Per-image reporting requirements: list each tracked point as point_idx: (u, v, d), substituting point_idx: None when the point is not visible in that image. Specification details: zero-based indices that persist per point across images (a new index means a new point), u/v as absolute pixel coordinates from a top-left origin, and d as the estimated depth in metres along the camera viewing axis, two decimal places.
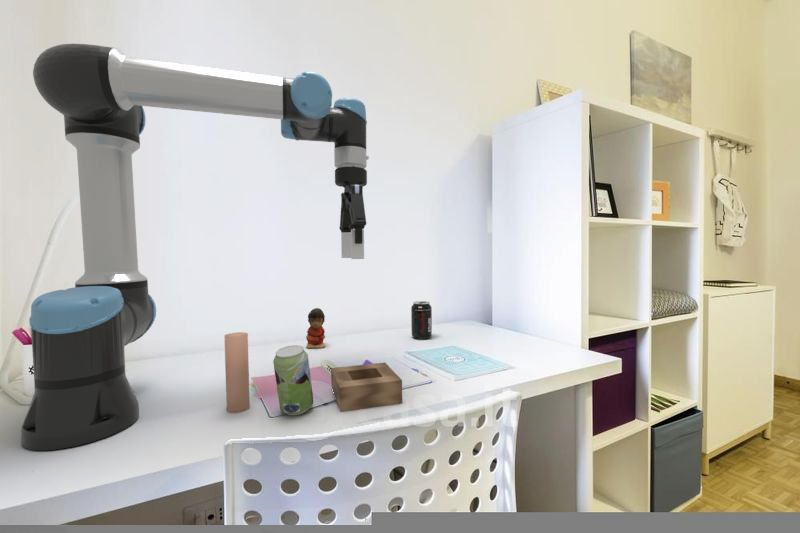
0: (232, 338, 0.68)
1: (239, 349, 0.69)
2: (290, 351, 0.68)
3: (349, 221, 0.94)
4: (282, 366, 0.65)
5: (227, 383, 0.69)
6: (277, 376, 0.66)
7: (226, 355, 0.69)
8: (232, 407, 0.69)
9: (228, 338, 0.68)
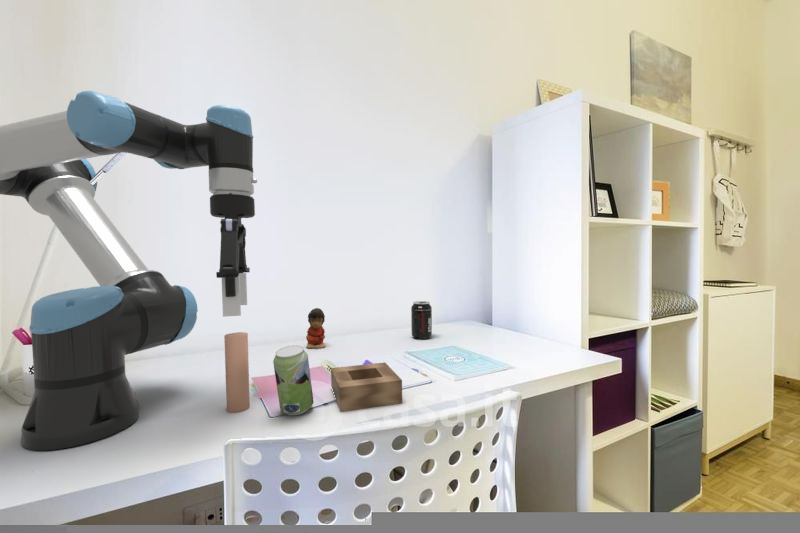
0: (232, 338, 0.68)
1: (239, 349, 0.69)
2: (290, 351, 0.68)
3: (240, 260, 0.75)
4: (282, 366, 0.65)
5: (227, 383, 0.69)
6: (277, 376, 0.66)
7: (226, 355, 0.69)
8: (232, 407, 0.69)
9: (228, 338, 0.68)
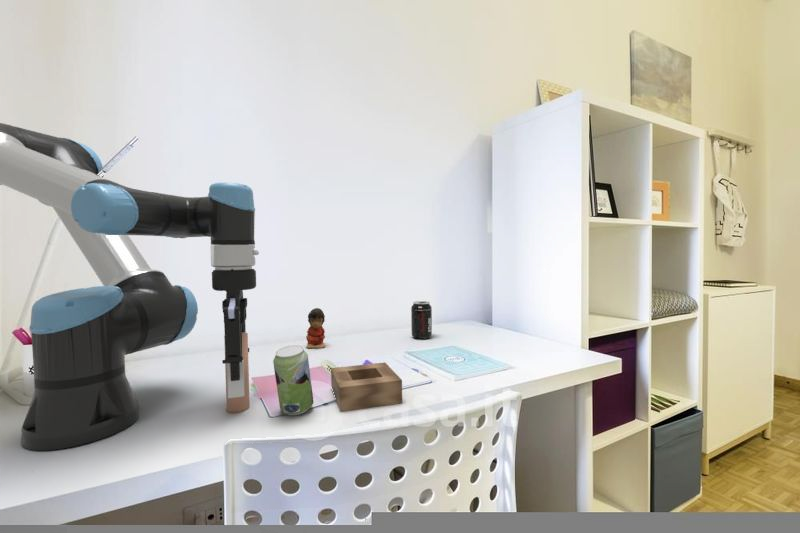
0: None
1: None
2: (290, 351, 0.68)
3: None
4: (282, 366, 0.65)
5: (227, 383, 0.69)
6: (277, 376, 0.66)
7: None
8: (231, 407, 0.69)
9: None
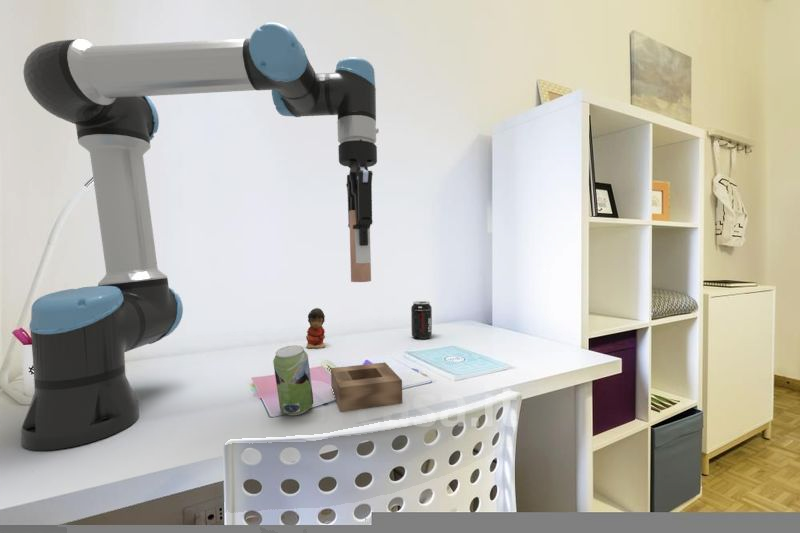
0: None
1: None
2: (290, 351, 0.68)
3: None
4: (282, 366, 0.65)
5: (353, 255, 0.73)
6: (277, 376, 0.66)
7: (352, 228, 0.73)
8: (358, 277, 0.73)
9: None
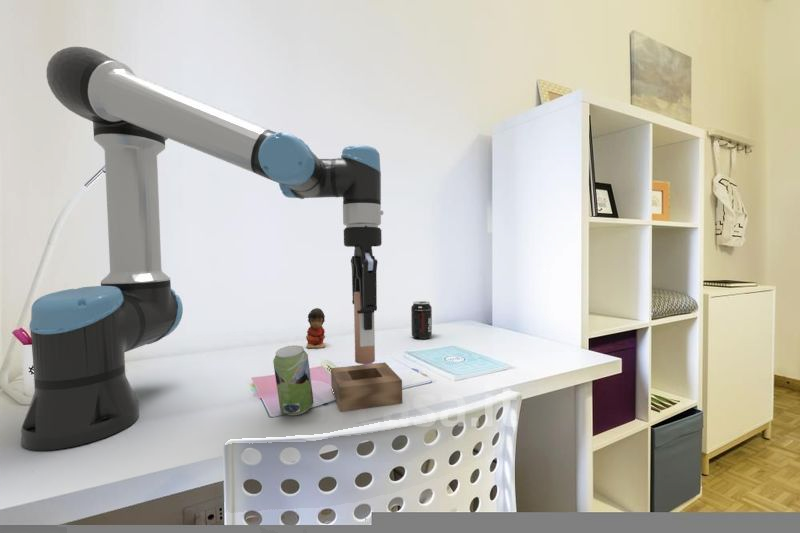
0: None
1: None
2: (290, 351, 0.68)
3: None
4: (282, 366, 0.65)
5: (357, 336, 0.74)
6: (277, 376, 0.66)
7: (357, 310, 0.74)
8: (362, 359, 0.74)
9: (359, 294, 0.74)
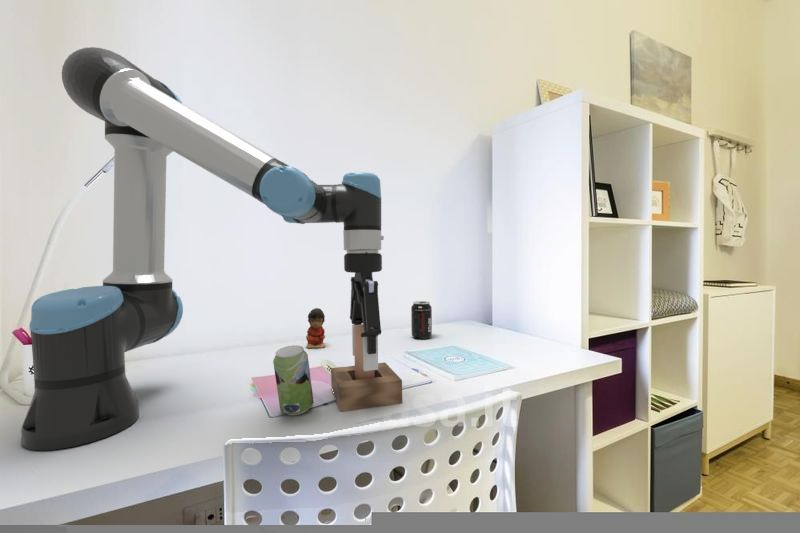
0: None
1: None
2: (290, 351, 0.68)
3: (361, 311, 0.80)
4: (282, 366, 0.65)
5: (358, 372, 0.74)
6: (277, 376, 0.66)
7: (357, 346, 0.74)
8: None
9: (360, 330, 0.74)
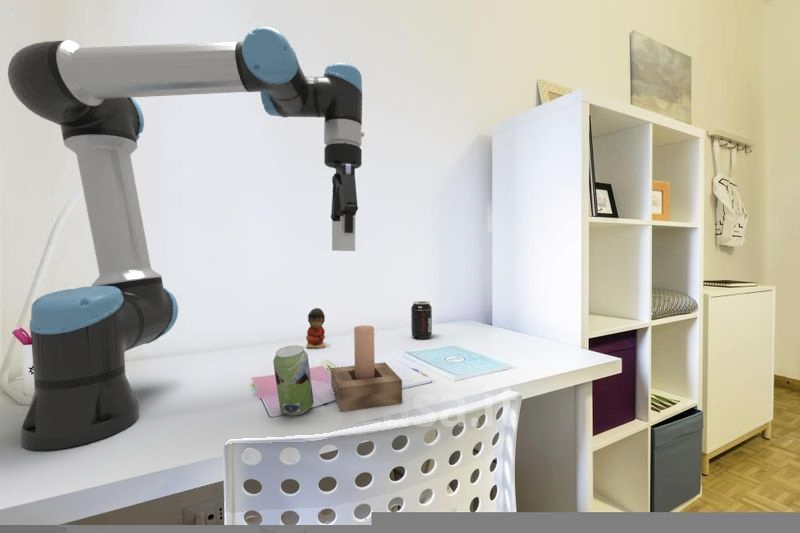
0: (364, 330, 0.74)
1: (369, 341, 0.74)
2: (290, 351, 0.68)
3: (341, 208, 0.82)
4: (282, 366, 0.65)
5: (358, 372, 0.74)
6: (277, 376, 0.66)
7: (357, 346, 0.74)
8: None
9: (360, 330, 0.74)
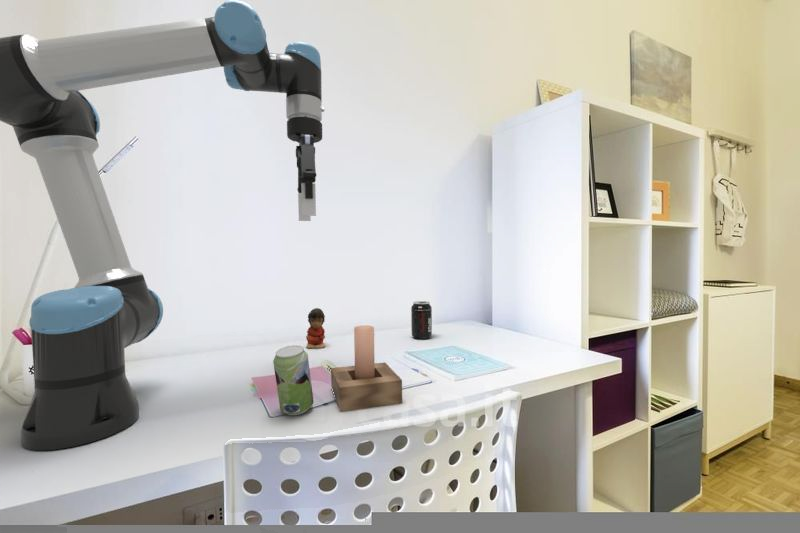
0: (364, 330, 0.74)
1: (369, 341, 0.74)
2: (290, 351, 0.68)
3: None
4: (282, 366, 0.65)
5: (358, 372, 0.74)
6: (277, 376, 0.66)
7: (357, 346, 0.74)
8: None
9: (360, 330, 0.74)
